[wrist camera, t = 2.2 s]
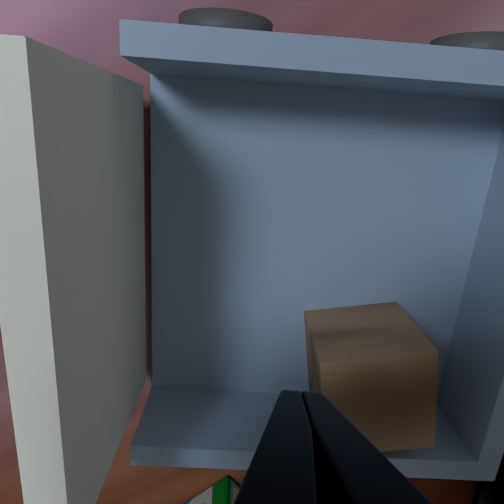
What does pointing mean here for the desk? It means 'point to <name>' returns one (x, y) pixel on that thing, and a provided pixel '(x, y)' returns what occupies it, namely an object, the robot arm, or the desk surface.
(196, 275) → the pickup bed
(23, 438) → the tall thin white panel
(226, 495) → the milk carton
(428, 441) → the brown cube
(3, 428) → the desk surface
